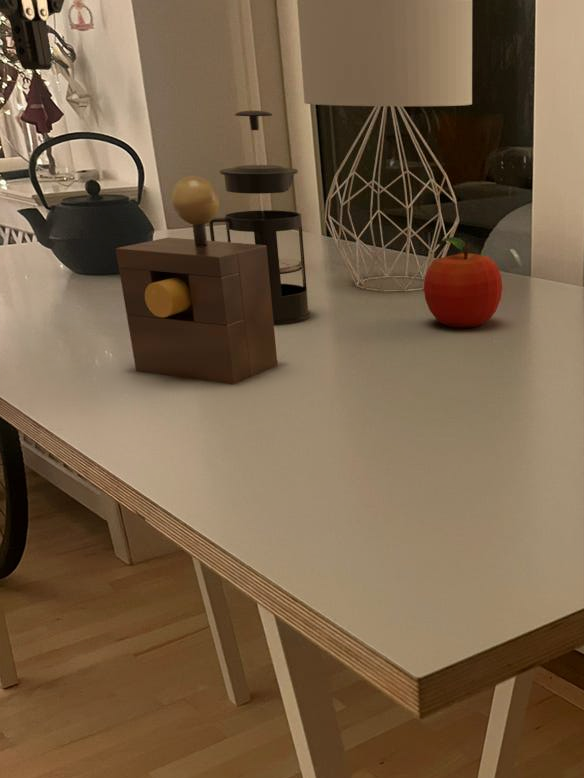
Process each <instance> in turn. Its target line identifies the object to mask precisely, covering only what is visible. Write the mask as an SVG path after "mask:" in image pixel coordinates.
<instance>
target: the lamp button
mask: <svg viewBox="0 0 584 778" xmlns="http://www.w3.org/2000/svg"><path fill="white" fill-rule="evenodd" d="M145 301H146V304H147V306H148V308H149V310H150V311H151V312H152V313H153V314H154V315H156V316H158V317H167V316H171V315H174V314H177V313H180V312H183V311H186V310H187V309H188V308H189V307H190V305H191V293H190V290H189V288H188V286H187V285H186V283H185V282H183V281H182V280H181V279H179V278H170V279H166V280H162V281H158V282H154V283H151V284H149V285H148V287H147V288H146V290H145Z"/></svg>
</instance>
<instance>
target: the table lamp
mask: <svg viewBox="0 0 584 778" xmlns="http://www.w3.org/2000/svg"><path fill="white" fill-rule="evenodd" d="M296 5H297V17H298V31H299V32H298V33H299V45H300V46H299V47H300V61H301V74H302V89H303V102H304V104H306V105H317V106H345V107H346V106H347V107H373V109H372V111H371V112H370V114H369V116H368V117H367V119H366V121H365V123H364V125H363V126H362V128H361V130H360V132H359V133H358V135H357V137H356V138H355V140H354V142H353V144H352V145H351V147H350V148H349V150H348V152H347V154H346V155H345V157H344V159H343V161H342V162H341V164H340V166H339V167H338V169H337V171H336V173H335V175H334V176H333V180H332V182H331V186H330V188H329V191H328V195H327V197H326V201H325V210H324V222H325V225H326V227H327V230H328V231H329V233H330V236H331V237H332V240H333V242H334V244H335V246H336V248H337V250H338V252H339V254H340V256H341V258H342V260H343V262H344V265H345V267H346V269H347V270H348V273H349V274H350V276H351V279H352V280H353V283H354V285H355V286H356V287H357V288H360V289H363V290H367V291H376V292H413V291H419V290H420V291H421V290H424V282H425V276H426V274H427V271H428V268H429V267H430V265H431V264H432V263H433V261H434V260H435V259H438V258H443V257H447V254H448V251H449V248H450V246H451V244H452V243H450V242H449V241H446V244H445V245H444V247H443V248H442V249H441V250H440V252H439V254H438V255H437V256H436V257H435V252H436V251H437V249H438V248H439V247H440V246H441V244H440V245H439V243H438V239H439V236H440V232H441V229H443V234H444V237H443V238H442V239H441V240H443V239H444V238H451V237H455V233H456V230H457V228H458V225H459V224H460V216H459V210H458V203H457V197H456V195H455V192H454V190H453V188H452V185H451V182H450V179H449V176H448V175H447V173H446V171H445V169H444V168H443V166H442V165H441V163H440V161H439V160H438V159H437V157H436V155H435V154H434V153H433V151H432V149H431V148H430V146H429V145H428V143H427V141H426V140H425V139H424V137H423V135H422V134H421V132H420V131H419V129H418V128H417V126H416V124H415V123H414V122H413V119H412V118H411V117H410V116H409V115H410V114H408V112H407V110H406V108H404V107H455V106H456V107H457V106H459V107H460V106H470V105H473V0H296ZM382 107H383V108H382ZM388 107H390V110H391V117H392V122H393V128H394V134H395V135H394V136H395V139H396V140H395V141H396V146H397V151H398V158H399V165H400V170H401V174H400V175H399V176H398V177H397V178H395V179H394V180H393V181H391V182H390V183H389V184H387V185H386V186H384V187H383V186H382V185H381V181H380V180H381V168H382V159H383V149H384V140H385V129H386V121H387V112H388V111H387V110H388ZM395 107H396V108H397V110H398V112H399V114H400V117H401V118H402V121H403V123H404V126H405V127H406V130H407V132H408V134H409V136H410V139H411V140H412V143H413V145H414V147H415V149H416V151H417V154H418V157H419V159H420V161H421V162H422V164H423V167H424V169H425V172H426V173H427V176H428V178H429V180H428V181H427V182H426V183H425V182H424V181H422V180H421V179H420V178H419V177H418V176H416V175H414V173H412V172H411V171H410V170H409V168H408V163H407V158H406V153H405V149H404V145H403V140H402V135H401V132H400V126H399V123H398V118H397V113H396V109H395ZM381 108H382V109H383V110H382V116H381V121H380V122H381V123H380V126H379V127H380V128H379V133H378V142H377V147H376V155H375V161H374V167H373V173H372V179H371V181H369V182H367V181H366V180H365V179H364V178H363V177H362V176H360V174H359V173H358V172H356V170H357V168H358V166H359V163H360V161H361V158H362V155H363V153H364V150H365V148H366V146H367V143H368V141H369V138H370V135H371V133H372V131H373V128H374V125H375V123H376V120H377V118H378V115H379V112H380V110H381ZM370 120H371V122H370ZM408 121H409V122H408ZM369 122H370V125H369V127H368V129H367V131H366V133H365V136H364V139H363V141H362V143H361V145H360V148H359V149H358V153H357V155H356V157H355V160H354V161H353V163H352V166H351V168H350V172H349V173H348V176H347V178H346V179H345V180H343V182H342V183H341V184H340V185H339V184H338V183H339V182H338V178H339V175H340V172H341V171H342V169H343V168H344V166H345V164H346V162H347V160H348V159H349V157H350V155H351V153H352V151H353V150H354V148H355V146H356V144H357V143H358V142H359V140H360V137H361V136H362V134H363V132H364V131H365V129H366V127H367V126H368V124H369ZM409 123H410V124H411V126H412V127H413V129H414V131H415V132H416V133H417V135H418V136H419V139H420V140H421V142H422V143H423V145H424V146H425V148H426V149H427V151H428V153H429V154H430V156H431V157H432V159H433V160H434V162H435V164H436V165H437V167H438V168H439V170H440V172H441V173H442V175H443V179H442V181H441V185H439V184H438V183H437V182H436V179H435V176H434V173H433V170H432V168H431V166H430V165H429V163H428V161H427V158H426V156H425V153H424V152H423V150H422V148H421V147H420V144H419V142H418V140H417V138H416V136H415V134H414V132H413V130H412V127H411V126H410V124H409ZM399 142H400V143H399ZM380 145H381V146H380ZM400 147H401V148H400ZM379 151H380V152H379ZM401 152H402V154H401ZM379 153H380V156H379ZM402 156H403V159H402ZM378 158H379V165H378V177H377V178H378V179H377V181H375V177H376V170H377V164H378ZM403 160H404V165H405V169H406V170H405V171H404V166H403ZM406 174H407V181H408V189H409V200H410V203H409V201H408V194H407V193H408V192H407V184H406V178H405V175H406ZM355 175H356V177H358V178H359V179H360V180H361V181H363V182H364V183H365V184H366V185H364V186H363V187H362V188H360V189H359V190H358V191H357V192H355V193H354V194H353V195H352V196H351V193H352V188H353V183H354V179H355ZM410 175H411V176H412V177H414V178H415V179H416V180H417V181H418V182H419V183H420V184H422V185H423V187H422V188H421V190H420V191H419V192H418V193H417V195H416V196H414V198H413V194H412V186H411V179H410ZM401 177H402V181H403V189H404V199H405V204H404V203H403V202H402V201H400V200H399V199H398V198H397V197H396V196H394V195H393V194H392V193H390V191H388V190H387V189H388V188H390V186H392V185H393V184H394V183H395V182H397V181H398V180H399V179H401ZM350 178H351V181H350V185H349V190H348V189H347V188H348V184H349V180H350ZM445 181H446V183H447V186H448V188H449V192H450V194H451V196H450V194H449V193H447V192H446V191H445V189H443V186H444V184H445ZM430 184H431V187H432V188H431V187H430V186H429V185H430ZM344 185H345V186H344ZM375 185H376V186H377V190H376V189H375V188H374V186H375ZM343 186H344V191H343V194H342V196H341V193H340V189H341V188H342V187H343ZM368 187H369V188H370V189H371V193H370V194H371V195H370V208H369V211H370V212H369V221H368V223H367V224H366V225H365V227H363V229H362V231H361V232H360V234H359V235H358V236H357V233H356V230H355V226H354V223H353V220H352V215H351V213H350V205H351V203H350V202H351V200H353V199H354V198H355V197H356V196H357V195H358V194H360V193H361V192H363V191H364V190H365V189H366V188H368ZM335 188H336V190H335ZM426 188H427V189H428V190H430V191H431V192H432V193H433V194H434V198H435V201H436V205H437V212H438V213H437V214H436V215H434V216H433V217H432V218H431V219H430V220H428V221H427V222H426V223H424V224H423V225H422V226H421V227H419V228H418V229H417V230H416V231H414V229H412V223H413V211H414V210H413V208H414V207H413V205H414V203H415V202H416V201H417V199H418V198H419V197H420V196H421V194H422V193H423V191H425V189H426ZM380 189H381V190H380ZM438 189H439V190H438ZM334 190H335V191H334ZM347 190H348V194H347V197H348V198H347V200H345V197H346V192H347ZM374 192H375V193H376V195H377V210H376V212H375V213H374V214H373V202H374ZM383 192H385V193H386V194H388V195H389V196H390V197H391V198H392V199H394V200H395V201H396V202H398V203H399V204H400V205H402V207H404V208H405V209H406V219H407V220H406V222H407V223H406V224H407V227H406V228H404V229H403V230H402V228H400V227H399V226H398V225H397V224H396V223H395V222H394V221H393V220H392V219H391V218H389V217H388V216H387V215H386V214H385V213H384V212H383V211H381V210H380V194H381V193H383ZM441 192H442V193H443V194H444V195H446V197H448V199H450V200H451V201H452V202H453V203H454V206H455V212H456V217H455V220H454V223H453V225H452V227H451V228H450V229H449V231H448V232H447V231H446V228H445V223H444V219H443V215H442V208H441V200H440V195H441ZM336 194H338V195H337V196H338V198H339V203H340V216H339V222H338V221H337V220H336V219H335V218H333V216H331V200H332V198H334V196H335V195H336ZM346 204H347V214H348V217H349V221H350V225H351V228H352V231H353V232H351V231H350V230H349V229H348V228H347V227H346V226H345V225H343V207H344V206H345V205H346ZM409 209H410V213H409ZM409 214H410V215H409ZM377 215H378V223H379V231H380V240H381V241H380V242H381V247H382V248H380V249H379V250H378V251H377V247H376V241H375V236H374V230H373V221H374V219H375V217H376V216H377ZM381 215H382V216H383V217H385V218H386V220H388V221H389V222H390V223H391V224H392V225H393V226H394V227H395V228H397V229H398V230H399V233H398V234H397V235H396V236H395V237H393V238H392V239H391V240H390V241H388V242H387V243H386V244H385V245H384V239H383V229H382V221H381ZM327 218H328V221H329V222H328V221H327ZM436 218H437V221H436V225H435V229H434V233H433V236H432V240H431V244H430V245H428V244H427V243H426V242H425V241H424V240H423V239H422V238H421V237H420V236H419V235H418V233H419V232H420V231H422V230H423V229H424V228H425V227H426V226H427V225H428V224H430V223H431V222H432V221H434V220H435V219H436ZM334 223H335V224H337V225H338V226H339V230H338V231H337V229H336V227H335V225H334ZM329 224H330V225H329ZM438 226H439V227H438ZM368 227H370V234H371V239H372V245H373V250H372V249H371V248H370V247H369V245H367V244H365V243H364V242H363V241H362V240H361V239H360V238H361V236H362V235H363V234H364V232H365V231H366V230H367V228H368ZM406 231H407V232H406ZM345 232H346V233H347V234H348V235H350V236H351V237H352V238H353V239H354V240H355V246H356V247H355V248H356V249H355V250H356V251H355V253H356V258H355V256H354V253H353V252H352V251H353V250H352V249H351V246H350V243H349V241H348V238H347V235H346V233H345ZM446 232H447V233H446ZM341 234H343V237H344V240H345V242H346V245H347V248H348V250H349V253H350V256H351V258H352V260H353V263H354V266H355V268H356V271H355V269H354V268H353V265H352V263H351V261H350V258H349V256H348V255H347V252H346V250H345V248H344V246H343V243H342V241H341ZM401 235H404V236H405V237H406V242H405V244H404V245H403V247H402V249H401V250H400V252H399V254H398V255H397V257H396V258H395V260H394V262H393V264H392V265H391V267H390V269H389V268H388V267H387V263H386V261H387V260H386V253H385V249H386V248H387V247H388V246H390V244H392V243H393V242H395V240H396V239H398V238H399V237H400V236H401ZM414 236H415V237H416V238H418V240H419V241H420V242H421V243H422V244H423V245H424V246H425V247H426V248H427V249H428V250H429V251H428V255H427V258H426V260H425V261H424V262H423V263H422V265H421V266H420V263H419V260H418V257H417V253H416V250H415V248H414V244H413V241H412V238H413V237H414ZM448 236H449V237H448ZM340 247H341V248H340ZM361 248H362V249H361ZM410 249H412V251H413V255H414V258H415V261H416V265H417V267H418V270H417V271H416V272H415V274H414V275H413V276H408V270H409V258H410ZM362 250H363V251H364V252H365V253H366V254H367V256H368V257H369V259H371V260H372V262H371V266H370V269H369V270H368V268H367V265H366V261H365V258H364V255H363V253H362ZM368 250H369V251H370V252H371V253H372V254H373V255H374V257H372V256H371V254H370V253H369V252H368ZM404 250H405V256H404V257H405V259H404V271H403V275H393V274H392V270H393V269H394V267H395V266H396V263H397V261H399V259H400V257H401V255H402V253H403V252H404ZM381 252H382V256H383V260H382V259H381V258H380V256H379V254H380V253H381ZM359 254H360V256H361V259H362V263H363V265H364V269H365V272H366V275H367V278H365V279H363V276H362V273H361V271H360V268H359ZM440 256H441V257H440ZM379 262H380V263H381V265H382V266H383V267H384V270H383V269H382V268H381V266H380V264H379ZM374 266H376V269H377V272H378V276H375V277H373V276H372V277H371V275H372V272H373V268H374ZM423 268H424V269H423ZM422 269H423V272H422ZM381 273H382V274H381ZM419 273H420V276H421V277H418V275H419ZM382 275H383V276H382ZM383 278H385V279H386V278H392V279H393V280H394V282H395V283H396V285H398V287H399V288H400V289H384V286H383V281H382V279H383ZM396 278H403V285H401V284H400V283H399V282H398V281H397V279H396ZM406 278H408V279H410V281H409V282H408V283H407V284H406ZM375 279H379V282H380V288H381V289H378V288H368V284H369V282H370V280H375ZM415 279H417V280H418V279H419V280H423V281H422V285H421V287H419V288H410V289H409V288H408V287H409V286H410V285H411V284H412V283H413V281H414V280H415ZM365 281H366V283H365ZM359 283H360V284H361V285H359Z"/></svg>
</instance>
